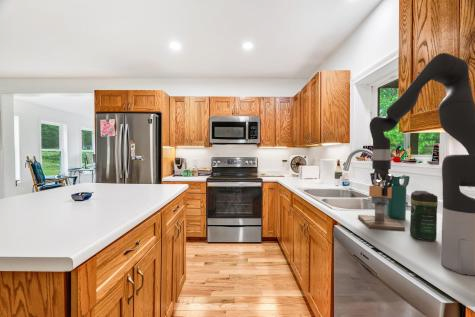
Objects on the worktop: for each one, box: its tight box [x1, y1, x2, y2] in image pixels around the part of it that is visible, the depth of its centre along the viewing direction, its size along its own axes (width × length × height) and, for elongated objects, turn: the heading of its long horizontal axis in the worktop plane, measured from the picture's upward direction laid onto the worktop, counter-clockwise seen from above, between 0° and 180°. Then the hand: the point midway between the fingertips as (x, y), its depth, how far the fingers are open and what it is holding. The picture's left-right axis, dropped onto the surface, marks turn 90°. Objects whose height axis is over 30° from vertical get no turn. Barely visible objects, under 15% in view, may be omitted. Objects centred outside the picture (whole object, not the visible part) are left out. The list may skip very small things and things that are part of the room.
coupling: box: [367, 185, 392, 205], centre depth 116 cm, size 10×7×8 cm
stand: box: [357, 204, 406, 231], centre depth 116 cm, size 18×14×10 cm
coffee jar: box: [409, 190, 439, 242], centre depth 97 cm, size 10×8×19 cm
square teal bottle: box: [385, 174, 410, 220], centre depth 128 cm, size 10×8×22 cm
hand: (381, 195), depth 115 cm, fingers closed on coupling, 4 cm apart
